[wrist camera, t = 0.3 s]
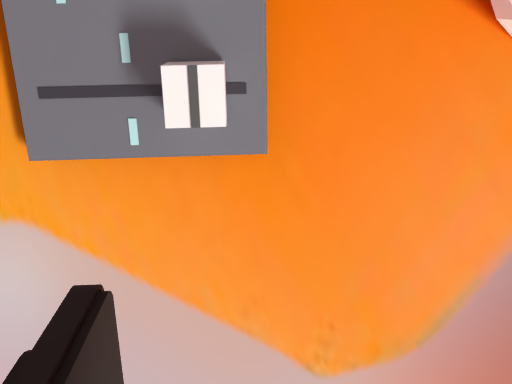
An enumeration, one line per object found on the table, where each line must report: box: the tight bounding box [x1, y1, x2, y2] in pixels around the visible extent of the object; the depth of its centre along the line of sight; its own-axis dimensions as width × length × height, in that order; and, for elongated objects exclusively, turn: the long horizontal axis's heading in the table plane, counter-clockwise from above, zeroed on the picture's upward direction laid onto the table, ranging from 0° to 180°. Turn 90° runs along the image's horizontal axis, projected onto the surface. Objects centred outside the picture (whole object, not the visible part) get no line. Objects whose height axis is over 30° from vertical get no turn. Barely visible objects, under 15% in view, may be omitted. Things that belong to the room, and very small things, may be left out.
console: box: [1, 0, 267, 161], centre depth 34 cm, size 20×18×2 cm
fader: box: [161, 61, 227, 128], centre depth 33 cm, size 4×4×4 cm
